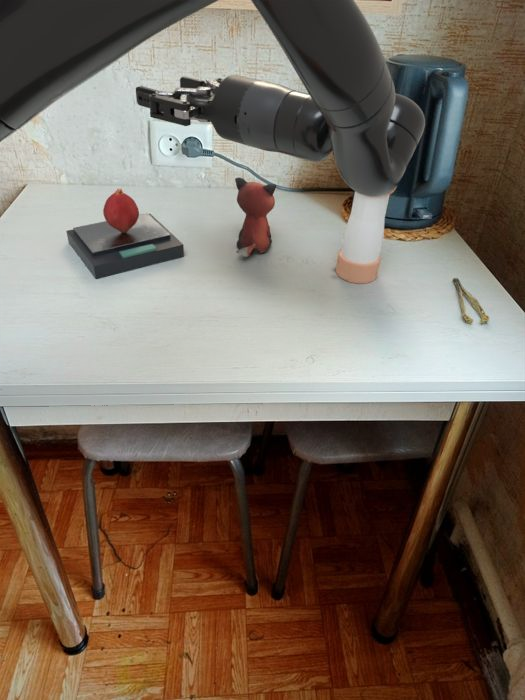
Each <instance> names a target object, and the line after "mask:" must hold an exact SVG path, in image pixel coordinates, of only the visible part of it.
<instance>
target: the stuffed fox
mask: <svg viewBox="0 0 525 700" xmlns="http://www.w3.org/2000/svg"><path fill="white" fill-rule="evenodd" d="M234 181H235V186H236V189H237V191H238V192H237V197H236V203H237V205H238V206H239V208H240V209H241V211H243V212H244V214H245V217H244V221H243V223H242V226H241V229H240V231H239V233H238V240H237V241H236V243H235V245H236V247H237V248H238V250H237V251H235V253H237V254H238V255H240V256H242V257H244V258H248V257H250V254H251V253H252V250H253V249H257V250H258V253H259V254H260V255H261V254H262V253H266V252H267V251H268V250H269V249H270V247H271V245H272V243H273V240H272V233H271V227H270V224H269V221H268V217H267V216H268V214H269V213H270V212H271V211H272V210H274V208H275V204H276V200H275V197H274V194H275V191H276V188H277V184H276V183H268V184H263V183H261V182H256V181H246V180H245V178H243V177H235V178H234Z"/></svg>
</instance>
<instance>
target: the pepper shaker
mask: <svg viewBox="0 0 525 700" xmlns="http://www.w3.org/2000/svg"><path fill="white" fill-rule="evenodd" d="M396 189H397V187H396V188H395V189H394V190H393V191H391V192H390V193H388V194H386V195H383V196H380V197H368V196H364V195H361V194H359V193H357V192H356V191H354V193H353V194H354V195H353V200H352V205H351V210H350V215H349V218H348V220H347V223H346V225H345V228H344V231H343V234H342V235H343V236H342V243H341V248H340V249H339V251H338V254H337V259H336V265H335V273H336V275H337V276H338V277H339V278H341V279H342V280H344V281H346V282H348V283H349V282H350V283H353V284H368V283H371V282H374V281H375V280H376V279H377V276H378V272H379V268H380V264H381V260H382V258H381V249H382V246H383V243H384V238H385V237H384V235H385V221H386V215H387V209H388V206H389V200H390V195H392V194H393V193H394V192H395V190H396Z"/></svg>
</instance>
